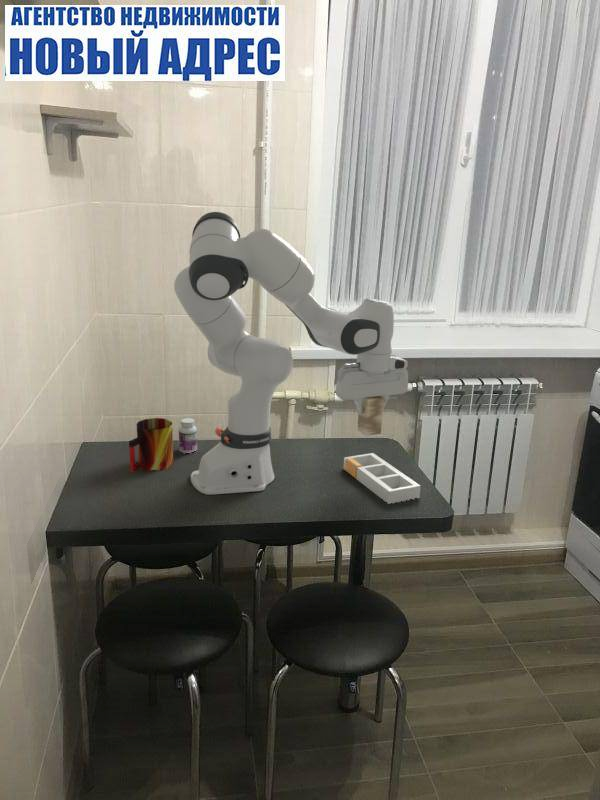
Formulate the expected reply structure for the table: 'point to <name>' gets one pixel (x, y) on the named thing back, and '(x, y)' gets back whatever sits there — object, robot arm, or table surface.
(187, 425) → the pill bottle
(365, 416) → the wooden block
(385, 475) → the rack
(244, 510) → the table surface
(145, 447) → the mug
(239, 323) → the robot arm
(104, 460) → the table surface
